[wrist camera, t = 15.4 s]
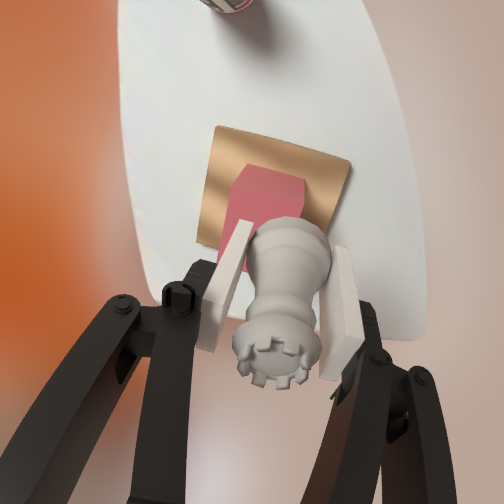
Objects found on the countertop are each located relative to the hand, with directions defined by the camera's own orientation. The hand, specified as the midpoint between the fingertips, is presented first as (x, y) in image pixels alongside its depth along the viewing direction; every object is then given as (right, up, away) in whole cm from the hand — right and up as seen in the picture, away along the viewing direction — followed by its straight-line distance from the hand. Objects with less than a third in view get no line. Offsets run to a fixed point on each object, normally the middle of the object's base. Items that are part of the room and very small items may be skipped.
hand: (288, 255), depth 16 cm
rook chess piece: (0, 0, 0) cm, 1 cm away
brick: (0, +5, +16) cm, 17 cm away
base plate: (0, +6, +17) cm, 18 cm away
